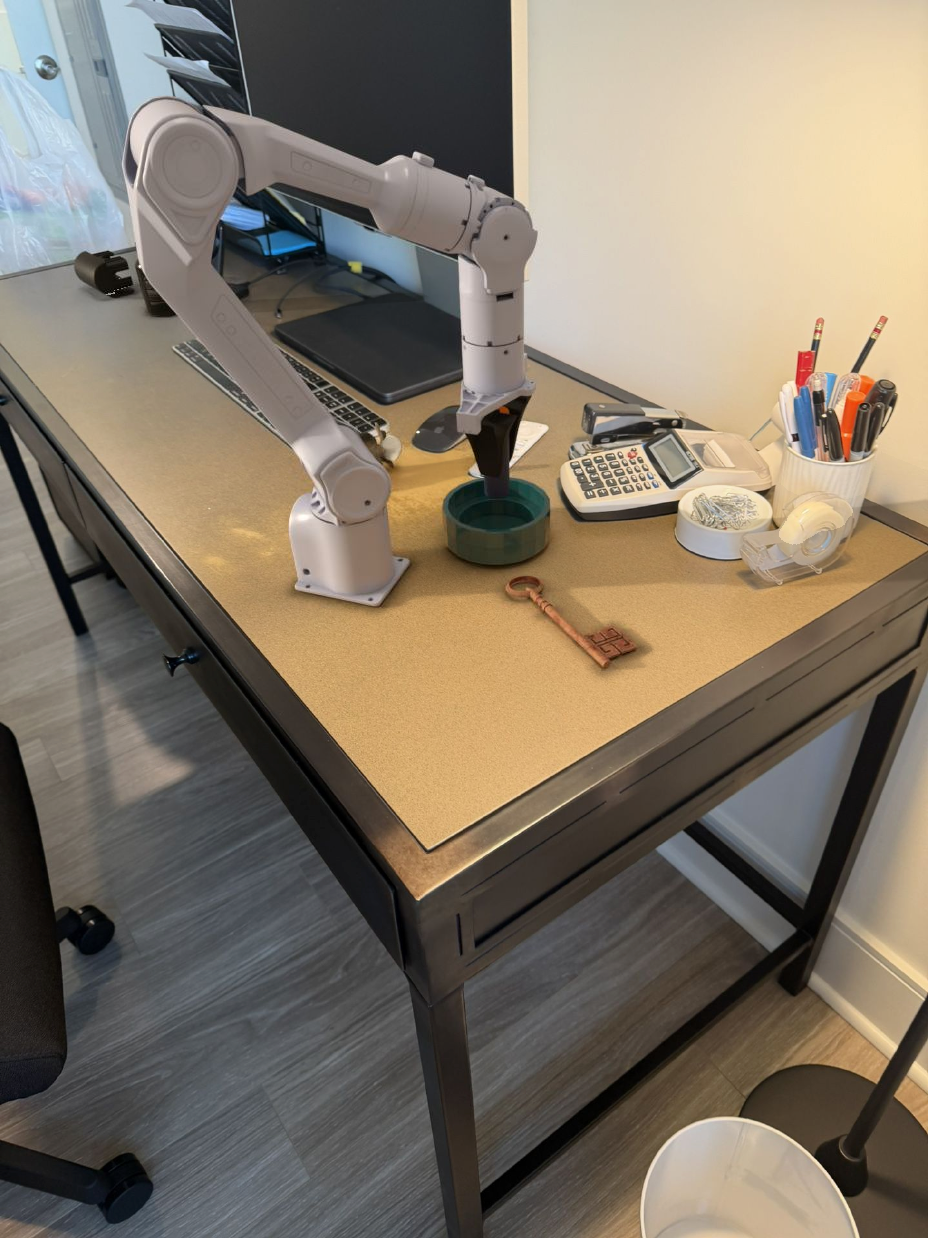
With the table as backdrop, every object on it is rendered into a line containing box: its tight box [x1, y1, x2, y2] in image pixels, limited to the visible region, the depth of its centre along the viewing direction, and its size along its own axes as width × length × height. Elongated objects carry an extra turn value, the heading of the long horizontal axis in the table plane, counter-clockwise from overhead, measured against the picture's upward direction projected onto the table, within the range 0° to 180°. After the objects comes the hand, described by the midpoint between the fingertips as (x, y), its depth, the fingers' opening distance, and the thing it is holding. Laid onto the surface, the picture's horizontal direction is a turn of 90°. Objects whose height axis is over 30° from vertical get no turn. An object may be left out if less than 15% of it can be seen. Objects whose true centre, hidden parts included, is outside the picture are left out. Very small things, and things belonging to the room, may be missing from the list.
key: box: [505, 575, 638, 669], centre depth 81 cm, size 6×1×15 cm
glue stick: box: [483, 406, 511, 499], centre depth 86 cm, size 3×3×9 cm
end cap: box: [73, 250, 135, 299], centre depth 162 cm, size 10×7×7 cm
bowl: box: [441, 477, 551, 566], centre depth 91 cm, size 11×11×4 cm
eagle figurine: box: [357, 422, 403, 469], centre depth 102 cm, size 8×7×9 cm
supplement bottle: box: [134, 242, 177, 317], centre depth 150 cm, size 7×7×12 cm
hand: (495, 467), depth 87 cm, fingers closed on glue stick, 2 cm apart
